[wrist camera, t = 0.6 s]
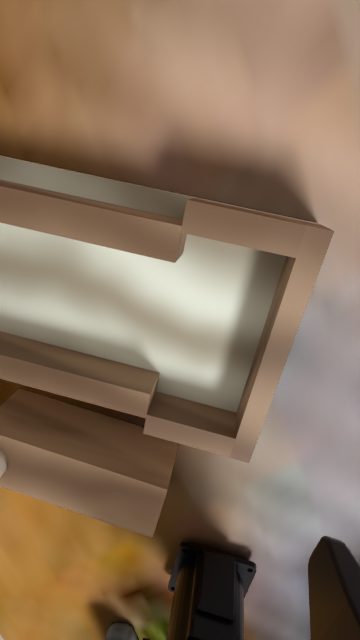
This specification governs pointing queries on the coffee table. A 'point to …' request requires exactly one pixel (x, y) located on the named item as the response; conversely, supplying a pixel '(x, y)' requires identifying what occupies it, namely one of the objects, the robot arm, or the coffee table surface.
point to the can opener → (121, 632)
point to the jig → (151, 301)
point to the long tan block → (84, 461)
